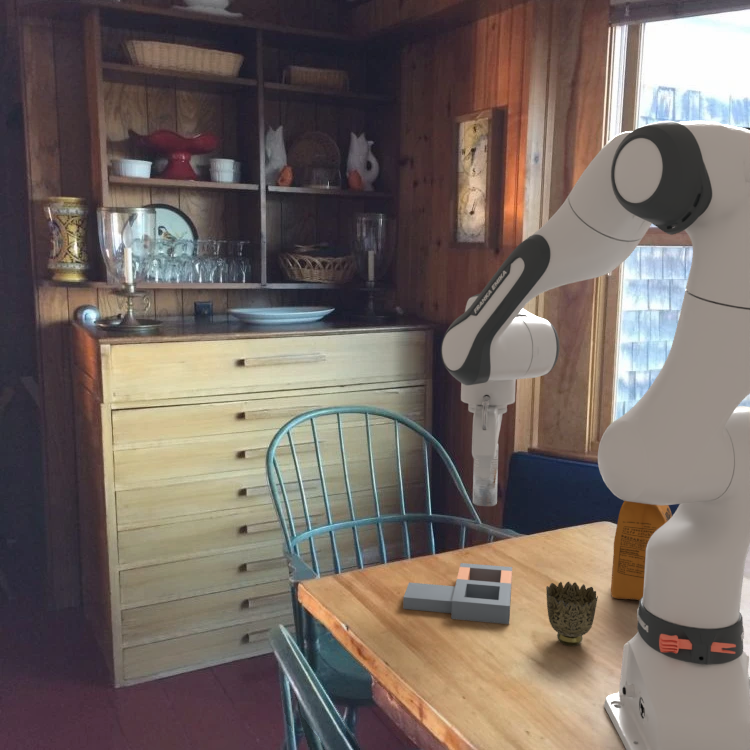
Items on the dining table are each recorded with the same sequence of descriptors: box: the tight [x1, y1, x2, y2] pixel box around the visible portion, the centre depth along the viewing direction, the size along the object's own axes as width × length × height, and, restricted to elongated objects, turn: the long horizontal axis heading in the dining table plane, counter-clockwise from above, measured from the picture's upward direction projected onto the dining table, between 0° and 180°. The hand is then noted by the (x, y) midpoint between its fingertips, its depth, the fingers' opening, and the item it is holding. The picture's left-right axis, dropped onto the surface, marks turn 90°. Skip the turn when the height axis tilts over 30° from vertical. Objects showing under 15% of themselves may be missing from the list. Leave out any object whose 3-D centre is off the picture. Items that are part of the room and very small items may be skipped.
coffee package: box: [610, 500, 673, 602], centre depth 135 cm, size 10×12×22 cm
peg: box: [472, 443, 499, 507], centre depth 133 cm, size 4×4×10 cm
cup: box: [545, 581, 599, 647], centre depth 118 cm, size 8×7×8 cm
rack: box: [402, 562, 513, 625], centre depth 133 cm, size 16×17×3 cm
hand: (485, 472), depth 133 cm, fingers closed on peg, 4 cm apart
